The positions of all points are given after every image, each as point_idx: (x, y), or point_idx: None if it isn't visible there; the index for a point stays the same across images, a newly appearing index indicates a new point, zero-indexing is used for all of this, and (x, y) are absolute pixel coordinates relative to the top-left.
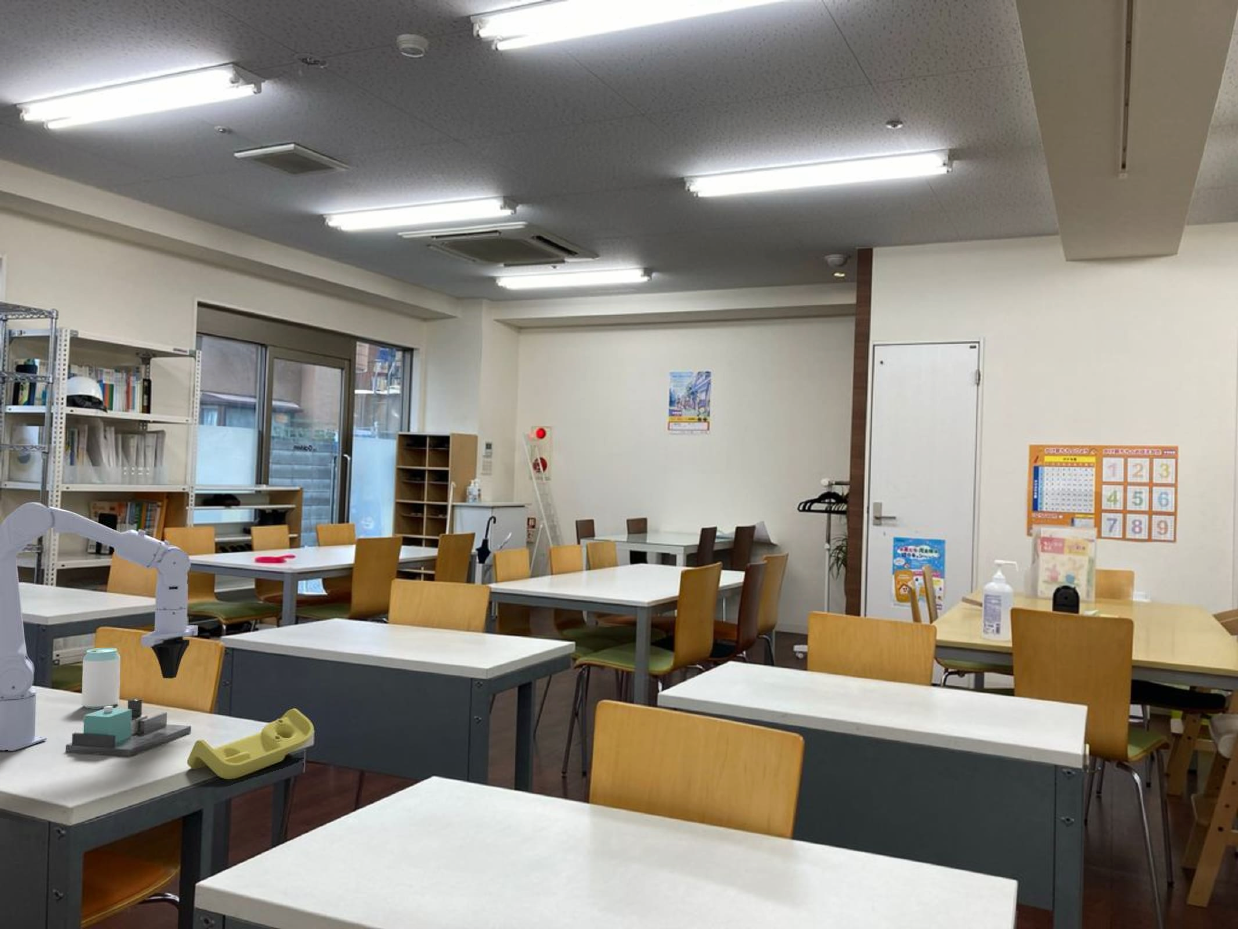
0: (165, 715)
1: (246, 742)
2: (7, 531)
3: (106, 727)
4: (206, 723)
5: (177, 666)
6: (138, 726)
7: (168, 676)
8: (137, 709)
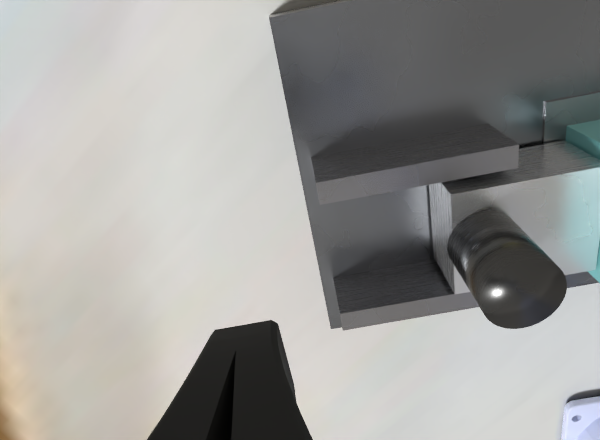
0: (327, 175)
1: None
2: None
3: None
4: (90, 91)
5: (208, 395)
6: None
7: (283, 358)
8: (518, 233)
